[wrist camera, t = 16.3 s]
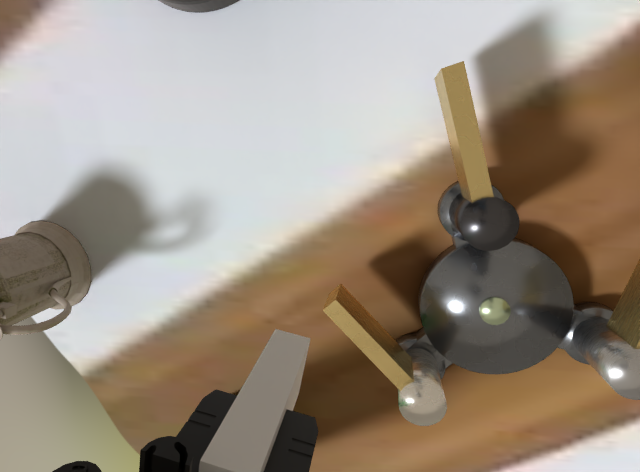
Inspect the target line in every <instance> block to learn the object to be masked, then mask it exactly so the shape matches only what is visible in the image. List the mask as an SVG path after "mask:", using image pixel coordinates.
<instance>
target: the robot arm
mask: <svg viewBox="0 0 640 472" xmlns="http://www.w3.org/2000/svg"><path fill="white" fill-rule="evenodd" d="M159 1H160V2H162V3H164V4H166V5H168V6H170V7H172V8H175V9H178V10H182V11H187V12H210V11H215V10H219V9H222V8H225V7H227V6H229V5H231V4H233V3H235V2H237V1H238V0H159ZM309 343H310V338H307V337H303V336H299V335H296V334H292V333H288V332H285V331H281V330H277V329H275V331H274V333H273V334H272V336H271V338H270V340H269V341H268V343H267V345H266V347H265V348H264V350H263V352H262V354H261V355H260V357H259V359H258V361H257V362H256V364H255V366H254V368H253V369H252V371H251V373H250V375H249V376H248V378H247V380H246V381H245V383H244V385H243V387H242V388H241V390H240V392H239V394H238V395H237V396H236V395H233V394H230V393H226V392H223V391H220V390H215V391H213V392H211V393H210V394H208V395H207V396H205V397H204V398H203V399H202V401H201V402H200V403H199V405H198V406H197V408H196V409H195V412H193V413H192V415H191V416H190V418H189V419H188V422H186V424H185V425H184V426H183V428H182V429H181V431H180V432H179V434H178V435H177V436H176V437H172V436H167V437H161V438H158V439H156V440H153V441H151V442H149V443H148V444H147V445H146V446H145V447H144V448H143V449H141V453H140V468H139V472H309V469H310V465H311V460H312V456H313V452H314V447H315V443H316V439H317V435H318V428H317V424H316V420H315V417H311V416H308V415H304V414H301V413H298V412H294V411H293V409H294V406H295V403H296V400H297V397H298V394H299V390H300V386H301V381H302V376H303V371H304V367H305V362H306V357H307V353H308V348H309ZM53 472H101V470H100V469H99V467H98V466H97V465H96V464H93V463H91V462H88V461H76V462H72V463H69V464H65V465H63V466H61V467H60V468H58V469H56V470H54V471H53Z"/></svg>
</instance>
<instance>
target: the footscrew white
mask: <svg viewBox="0 0 640 472" xmlns="http://www.w3.org/2000/svg"><path fill="white" fill-rule="evenodd" d="M323 311H324V312H325V313H326V314H327V315H328V316H329V317H330V319H331V320H332V321H333V322H334V323H335V324H336V325H337V326H338V327H339V328H340V329H341V330H342V331H343V332H344V333H345V334H346V335H347V336H348V337H349V338H350V339H351V340H352V341H353V342H354V343H355V344H356V346H357V347H358V348H359V349H360V350H361V351H362V352H363V353H364V354H365V355H366V356H367V357H368V358H369V359H370V360H371V361H372V362H373V363H374V364H375V365H376V366H377V367H378V368H379V369H380V370H381V372H382V373H383V374H384V375H385V376H386V377H387V378H388V379H389V380H390V381H391V382H392V383H393V384H394V385H395V386H396V387H397V388H398V401H399V409H400V412H401V414H402V415H403V417H404V418H405V419H406V420H408V421H409V422H411V423H413V424H416V425H420V426H429V425H433V424H436V423H437V422H439V421H440V420H441V419H442V418H443V417H444V415H445V413H446V410H447V404H446V399H445V395H444V391H443V387H442V382H441V378H440V374H439V370H438V365H437V361H436V359H435V357H434V356H433V355H432V354H431V353H430V352H428V351H426V350H424V349H421V348H412V349H408V350H406V351H405V350H404V349H403V348H402V347H401V346H400V345H399V344H398V343H397V342H396V341H395V340H394V339H393V338H392V337H391V336H390V334H389V333H388V332H387V331H386V330H385V329H384V328H383V327H382V326H381V325H380V324H379V323H378V322H377V321H376V320H375V319H374V318H373V317H372V316H371V315H370V314H369V312H368V311H367V310H366V309H365V308H364V307H363V306H362V305H361V304H360V303H359V302H358V301H357V300H356V299H355V298H354V297H353V296H352V295H351V294H350V293H349V292H348V290H347V289H346V288H345V287H344V286H343V285H342V284H340V285H339V286H338V287H336V288H335V289H334V290H333V291H332V292H331V293H329V296H328V298H327V301H326V303H325V306H324V308H323Z"/></svg>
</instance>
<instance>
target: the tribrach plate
mask: <svg viewBox="0 0 640 472" xmlns="http://www.w3.org/2000/svg"><path fill="white" fill-rule="evenodd" d="M491 187H492V191H493V196H495V197H497V198H500V199H502V200H504V199H503V197H502V195H501V193H500V192H499V191H498V190H497V189H496V188H495V187H494V186H492V185H491ZM460 193H461V189H460V185H459V181H458V182H456V183H454V184H452V185H451V186H449V187H448V188H447V189H446V190H445V191H444V193H443V194H442V196H441V198H440V200H439V203H438V216H439V220H440V222H441V224H442V225H443V227H444V228H445V229H446V230H447V232H448V233H449V234H451V236H452V240H453V245H452V246H451V247H449V248H447V249H446V250H445V251H443V252H442V253H441V254H440V255H439V256H438V257H437V258H436V259H435V260H434V261H433V262H432V263H431V265H430V266H429V267H428V269H427V271H426V272H425V274H424V276H423V279H422V281H421V285H420V289H419V296H418V303H419V311H420V316H421V321H422V325H423V328H422V329H420V330H419V331H418V332H417V333H410V334H406V335H403V336H401V337H399V338H398V339H397V340H396V342H397V343H398V344H399V345H400V346H401V347H402V348H403V349H404V350H405V351H406V350H408V349H412V348H421V349H424V350H426V351H428V352H430V353H431V354H432V355H433V356H434V357H435V359H436V361H437V365H438V370H439V374H440V378H441V379H442V378H443V376H444V373H445V368H447V367H448V366H449V365H451V364H452V363H454V364H456V365H458V366H460V367H462V368H464V369H467V370H470V371H474V372H478V373H484V374H506V373H512V372H517V371H520V370H523V369H526V368H529V367H531V366H533V365H535V364H537V363H539V362H540V361H542V360H544V359H545V358H546V357H547V356H549V355H550V354H551V353H552V352H553V351H554V350H555V349H556V348H557V347H558V348H561V349H564V350H566V352H567V353H568V354H569V355H570V356H571V357H572V358H574V359H575V360H577V361H579V362H581V363H585V364H589V363H588V362H587V360H586V359H585V358H584V357H583V356H582V355H581V354H580V353H579V352H578V351H577V350H576V349H575V347H574V345H573V342H572V335H573V332H574V330H575V328H576V327H577V326H578V325H579V324H580V323H581V322H583V321H585V320H587V319H590V318H595V317H600V318H606V319H610V317H611V315H612V313H613V310H611V309H610V308H608V307H607V306H605V305H602V304H600V303H595V302H584V303H579V304H576V305H574V303H573V295H572V291H571V287H570V285H569V282H568V280H567V278H566V276H565V275H564V273H563V271H562V270H561V269H560V268H559V266H558V265H557V264H556V263H555V262H554V261H553V260H552V259H550V258H549V257H548V256H547V255H545V254H544V253H542V252H541V251H539V250H538V249H536V248H535V247H533V246H532V245H530V244H528V243H526V242H524V241H522V240H519V239H516V238H514V239H513V240H512V241H511V242H510V243H509V244H508V245H507V246H505V247H503V248H501V249H498V250H494V251H484V250H480V249H477V248H475V247H473V246H472V245H471V244H469V242H468V241H467V240H466V239H465V238H464V237H463V236H462V234H461V233H460V232H459V231H458V230H457V229H456V228H455V226H454V225H453V224H452V222H451V220H450V217H449V208H450V205H451V203H452V201H453V199H454V198H455V197H456V196H457V195H458V194H460Z"/></svg>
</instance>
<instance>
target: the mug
mask: <svg viewBox="0 0 640 472" xmlns="http://www.w3.org/2000/svg"><path fill="white" fill-rule="evenodd" d="M90 283H91V267H90V264H89V261H88V257H87V254H86V252H85V251H84V249H83V247H82V246H81V244H80V242H79V241H78V240H77V239H76V238H75V237H74V236H73V235H72V234H71V233H70V232H69V231H68V230H66V229H64V228H62V227H61V226H59V225H57V224H55V223H50V222H46V221H37V222H31V223H28V224H26V225H24V226H23V227H21V228H20V229H18V231H17V232H16V234H15V235H14V236H10V237H6V238H1V239H0V340H1V339H2V337H3V334H13V335H21V334H31V333H36V332H41V331H44V330H47V329H49V328H51V327H53V326H56V325H57V324H59V323H60V322H62V321H63V320H64V319H65V318H67V316H68V315H69V314H70V312H71V308H72V307H71V306H73V305H75V304H77V303H79V302H80V301H81V300H82V299H83V298H84V296H85V295H86V294H87V292H88V289H89V286H90ZM48 308H53V309H64V311H63V312H62V313H60V314H59V315H57V316H56V317H54V318H52V319H50V320H47V321H45V322H41V323H38V324H33V325H24V326H12V325H14V324H16V323H18V322H20V321H22V320H24V319H27V318H29V317H31V316H33V315H35V314H37V313H39V312H41V311H43V310H46V309H48Z"/></svg>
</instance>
